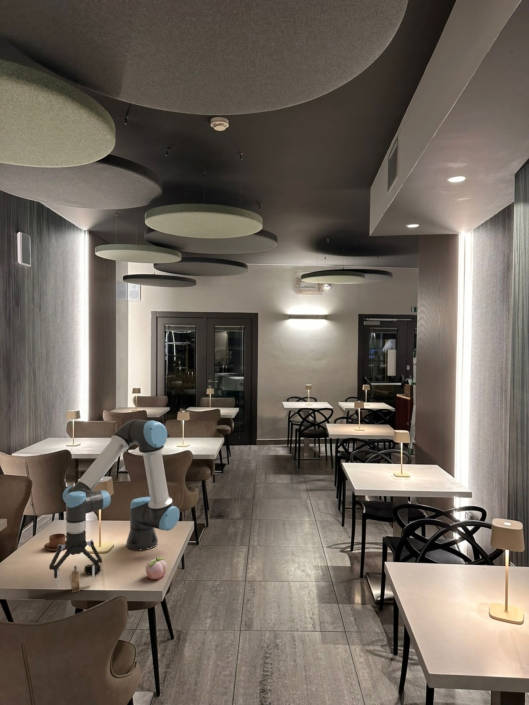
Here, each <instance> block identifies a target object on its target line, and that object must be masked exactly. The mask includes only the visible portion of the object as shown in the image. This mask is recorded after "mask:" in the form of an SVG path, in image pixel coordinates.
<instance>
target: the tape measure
mask: <svg viewBox="0 0 529 705" xmlns="http://www.w3.org/2000/svg"><path fill="white" fill-rule="evenodd" d="M100 564H101V563H99V564H98V565H97V572H95V574H97V573H99V572H101V571H102V570H101V568H102V566H101V565H100ZM83 571H84V572H83V573H84V574H86V575H92V564H91V563H90V564H87V565H85V566H84V570H83Z"/></svg>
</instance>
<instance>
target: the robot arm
mask: <svg viewBox="0 0 529 705" xmlns="http://www.w3.org/2000/svg"><path fill="white" fill-rule="evenodd" d="M110 439H111V440H110V441H109V443H108V444H107V445H106V446H105V447H104V448H103V450H102V452H100V454H99V455H98V456H97V457H96V459H94V461H93V462H92V463H91V464H90V466H89V467H88V469H87V470H85V472H84V473H83V474H82V476H81V477H80V478H79V479H78V480H77V482H76V483H75V484H74V485H73V486H68V487H66V488H65V489H64V491H63V493H62V500H63V502H64V503H65V513H66V514H65V515H66V518H65V519H66V520H65V527H66V528H65V529H66V530H65V531H66V533H65V536H66V538H65V540H66V544H65V545H61V544H58V549H57V551H55V553H54V555H53V557H52V560H51V562H50V563H49V565H48V566H49V567H48V569H49V570H51V571H53V578H54V579H56V588H59V587H60V567H61V566H62V564H64V562H65V561H66V560H67V558H68V557H69V556H71V555H72V556H74V555H81V554H83V555H84V556H85V557H87V559H89V561H91V563H92V574H91V580H92V582H94V583H95V582H96V580H95V579H96V578H95V574H96V573H95V572H97V565H98V564H101V563H103V559H102V557H101V556H100V553H99V552H98V550H97V548H96V546H95V543H94V540H93V539H91V540H90V541H87V540H86V538H87V536H86V535H87V534H86V530H87V528H86V526H87V525H86V524H87V522H86V521H87V514H90V513H93V512H97V511H101V510H103V509H106V508H108V507H109V506H110V504H111V495H110V493H109V492H108V491H107V490H106V489H102V490H98V491H95V490H94V489H95V488H96V487H97V485H98V484H99V483H100V482H101V480H102V479H103V478H104V477H105V475H106V474H107V472H108V471H109V470H110V469H111V468H112V466H113V465H114V464H115V462H117V460H118V459H119V457H121V455H122V454H123V452H124V451H127V450H128V449H129V448H130V447H131V446H133V445H137V447H138V451H139V453H140V454H142V456H143V461H144V469H145V474H146V482H147V486H148V492H149V493H148V494H149V496H144V497H143V496H142V497H138V498H134V499H132V500H131V502H130V507H129V524H130V525H129V526H130V527H129V528H130V529H129V531H128V532H129V533H128V536H127V539H126V548H127V549H129V550H132V549H133V551H141V550H140V549H146V550H148V549H147V548H151V547H153V546H155V545H157V546H158V544H159V542H158V541H159V539H158V536H157V533H156V529H158V530H160V531H166V532H167V531H172V530H173V529H174V528H175V527H176V526H177V524H178V522H179V520H180V510H179V508H178V507H177V506H174V503H173V498H172V497H170V495H169V490H168V484H167V478H166V471H165V466H164V459H163V454H162V450H163V449H164V448H165V444H166V442H167V439H168V431H167V427H166V425H164V424H163V423H161V422H159V421H156V420H147V419H140V418H137V419H131V420H129V421H126V422H125V423H124V424H122V425H121V426H120V427H119V428H118V429H117V430H116V431H115V432H114V433H113V434H112V436H110ZM157 543H158V544H157ZM87 546H88V547H89V548H91V551H92V552H93V554H94V556H95V557H96V558H94V556H93V554H91V553H90V552H89V551H88V550H87V549H86V547H87ZM155 547H156V546H155ZM63 548H65V550H66V551H65V552H64V554H62V555H61V557H60V558H59V556H60V554H61V552H62V551H63V550H64V549H63ZM153 548H154V547H153ZM151 549H152V548H151ZM58 558H59V560H58ZM97 573H98V572H97Z"/></svg>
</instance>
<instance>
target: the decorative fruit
mask: <svg viewBox="0 0 529 705" xmlns="http://www.w3.org/2000/svg"><path fill="white" fill-rule="evenodd" d="M167 569H168V566H167V562H166V561H165V558H164V557H155V558H153V559H151V560H150V561H148V563H147V564H146V566H145V572H146V573H145V574H146V575H147V577H148V578H149V579H150V580H152V579H157V580H160V579H161V578H163V577H164V576H165V575H166V572H167Z"/></svg>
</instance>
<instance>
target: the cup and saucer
mask: <svg viewBox="0 0 529 705" xmlns="http://www.w3.org/2000/svg"><path fill="white" fill-rule="evenodd" d="M48 541H49V542H47V543H45V544H44V545H43V547H44V549H45V550H47V551H51V552H56V551H57V549H58V544H61V545H65V544H66V533H61V532H60V533H54V534H53V533H52V534H51V535H49V538H48ZM63 550H66V548H63Z"/></svg>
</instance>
